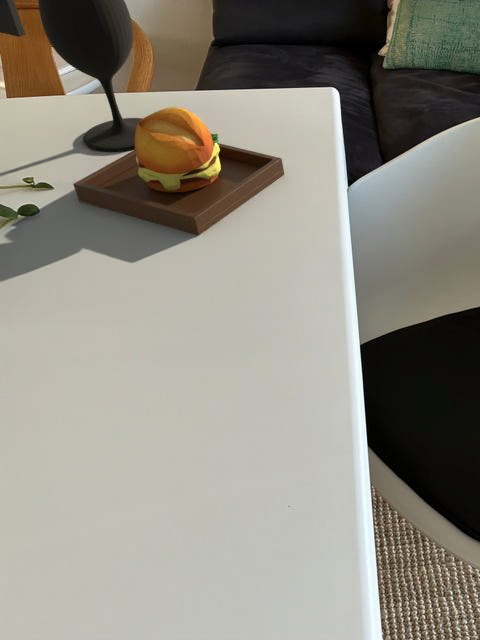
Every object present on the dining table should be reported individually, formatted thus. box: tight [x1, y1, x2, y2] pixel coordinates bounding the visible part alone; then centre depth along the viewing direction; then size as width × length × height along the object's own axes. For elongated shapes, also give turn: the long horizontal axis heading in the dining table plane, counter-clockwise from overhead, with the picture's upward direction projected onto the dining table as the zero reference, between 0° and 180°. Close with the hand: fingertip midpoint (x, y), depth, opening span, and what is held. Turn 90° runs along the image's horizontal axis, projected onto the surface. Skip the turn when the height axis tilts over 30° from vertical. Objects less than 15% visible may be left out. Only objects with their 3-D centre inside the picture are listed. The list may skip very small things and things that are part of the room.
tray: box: [72, 142, 285, 236], centre depth 97 cm, size 19×17×2 cm
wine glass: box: [37, 0, 144, 153], centre depth 103 cm, size 10×10×20 cm
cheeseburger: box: [134, 106, 221, 192], centre depth 95 cm, size 10×11×10 cm
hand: (65, 14), depth 82 cm, fingers open, 13 cm apart
